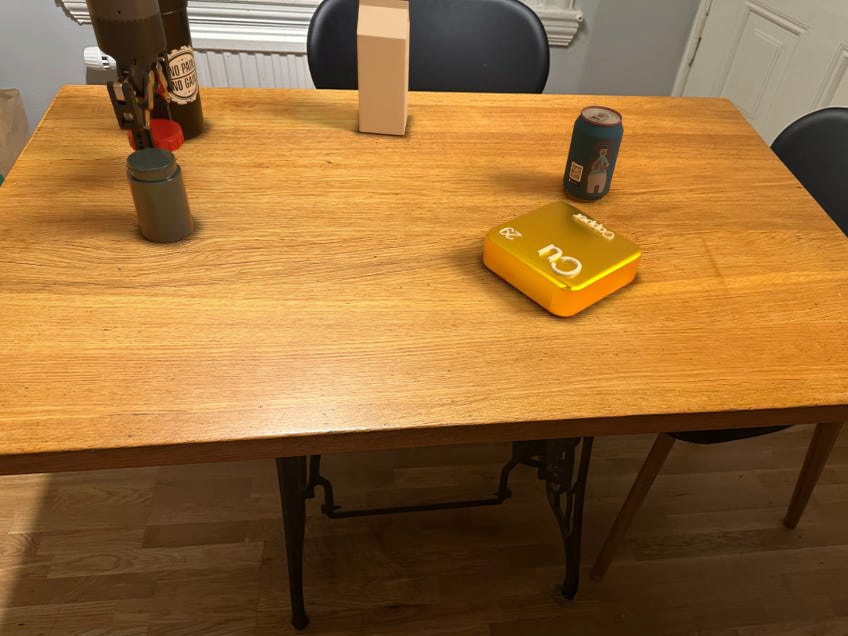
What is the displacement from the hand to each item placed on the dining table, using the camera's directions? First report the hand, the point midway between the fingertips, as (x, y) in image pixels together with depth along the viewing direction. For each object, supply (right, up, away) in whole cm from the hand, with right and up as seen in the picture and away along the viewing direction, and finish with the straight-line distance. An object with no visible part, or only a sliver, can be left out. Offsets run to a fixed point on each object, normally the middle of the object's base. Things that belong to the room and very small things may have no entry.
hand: (156, 142), depth 91 cm
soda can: (+58, -4, +12) cm, 59 cm away
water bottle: (-4, +7, +15) cm, 17 cm away
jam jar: (+4, -12, -4) cm, 13 cm away
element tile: (+52, -17, -3) cm, 55 cm away
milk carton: (+27, +10, +22) cm, 36 cm away
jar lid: (0, +1, -1) cm, 1 cm away
